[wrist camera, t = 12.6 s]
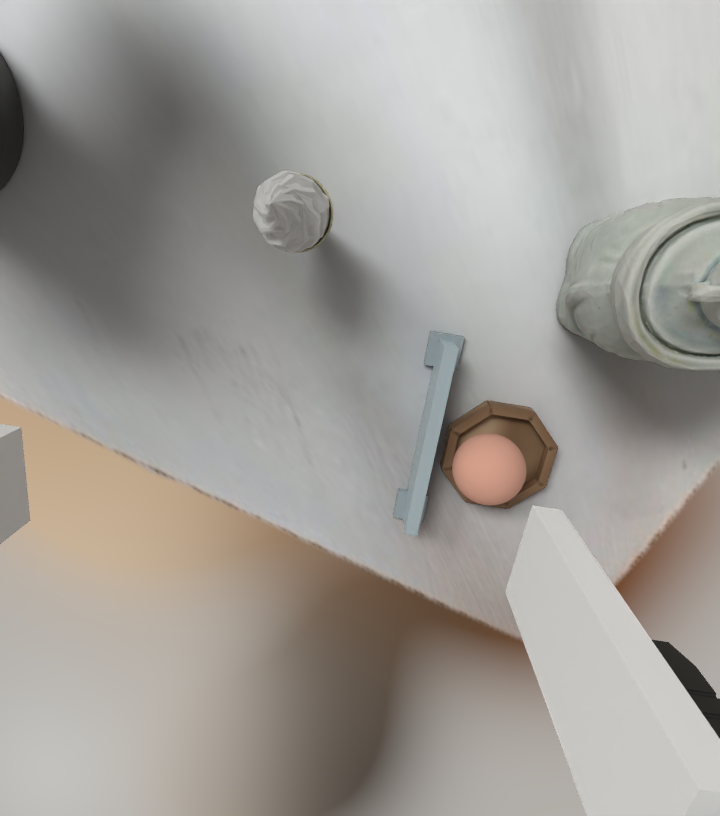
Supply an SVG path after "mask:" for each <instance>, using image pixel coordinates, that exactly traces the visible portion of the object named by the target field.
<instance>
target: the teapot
mask: <svg viewBox="0 0 720 816" xmlns="http://www.w3.org/2000/svg"><path fill="white" fill-rule="evenodd" d="M556 311H557V317H558V320H559V321H560V323H561V324H562V325H563V326H564V327H565V328H567V329H568V330H570V331H571V332H572V333H574V334H577V335H580V336H582V337H584V338H585V339H587V340H589V341H591V342H593V343H595V344H596V345H597V346H598V347H600V348H602V349H603V350H605V351H607V352H612V353H615V354H616V355H618V356H620V357H624V358H628V359H633V360H639V361H651V362H654V363H657V364H658V365H660V366H663V367H666V368H671V369H680V370H685V371H720V197H718V198H712V197H702V198H678V199H668V200H663V201H661V202H659V203H647V204H644V205H642V206H639V207H635V208H632V209H629V210H627V211H625V212H623V213H618V214H613V215H611V216H609V217H607V218H605V219H604V220H598V221H594V222H592V223H590V224H588V225H587V226H585V227H584V228H583V229H582V230H581V231H580V232H579V233H578V234H577V236H576V237H575V239H574V241H573V243H572V245H571V247H570V249H569V253H568V257H567V263H566V274H565V278H564V281H563V284H562V287H561V289H560V292H559V295H558V300H557V304H556Z"/></svg>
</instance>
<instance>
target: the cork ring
mask: <svg viewBox="0 0 720 816" xmlns="http://www.w3.org/2000/svg"><path fill="white" fill-rule="evenodd" d="M483 433H493V434H498V435H501V436H504V437H506V438H508V439H509V440H511V441H512V442H513V443H514V444H515V445H516V446H517V447H518V448H519V449H520V451H521V453H522V454H523V456H524V459H525V463H526V479H525V482H524V485H523V486H522V488H521V490H520V491H519V492H518V494H517V495H516V496H515V497H513V498H512V499H511V500H509V501H507V502H505V503H502V504H498V505H486V506H492V507H499V508H505V509H507V508H510V507H512V506H514V505H515V504H517V503H519V502H521V501H522V500H524V499H526V498H528V497H529V496H531V495H533V494H535V493H536V492H538V491H540V490H542V489H543V488H545V487H544V486H546V485H547V482H548V478H549V475H550V472H551V469H552V466H553V463H554V459H555V456H556V453H557V450H558V448H557V447H558V446H557V445H556V443H555V442H554V440H553V439H552V437H551V436H550V434H549V433H548V431H547V430H546V428H545V427H544V425H543V424H542V422H541V420H540V419H539V417H538V416H537V414H536V413H535V412H534V411H533V410H532V409H531V408H530V407H525V406H518V405H512V404H506V403H500V402H494V401H488V400H487V402H486V401H485V402H483V403H482V404H480V405H479V406H477V407H475V408H474V409H472V410H471V411H469V412H468V413H466V414H464V415H463V416H461V417H460V418H458V419H457V420H455V421H454V422H452V423H450V425H449V426H448V431H447V435H446V439H445V444H444V448H443V453H442V457H441V461H440V464H441V468H442V471H443V473H444V474H445V475H446V477H447V478H448V479H449V481H450V482H451V483H452V485H453V486H454V487H455V489H456V490H457V491H458V493H459V494H460V496H461V497H462V498H463V500H464V501H466V502H468V503H474V504H479V503H476V502H474V501H472V500H470V499H468V498H467V497H466V496H465V495H464V494H463V493H462V492H461V491H460V490H459V488H458V487H457V485H456V483H455V481H454V478H453V473H452V463H453V459H454V455H455V453H456V451H457V450H458V448H459V447H460V446H461V444H462V443H463V442H465V441H466V440H467V439H469V438H470V437H473V436H475V435H478V434H483ZM480 505H482V504H480Z"/></svg>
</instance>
